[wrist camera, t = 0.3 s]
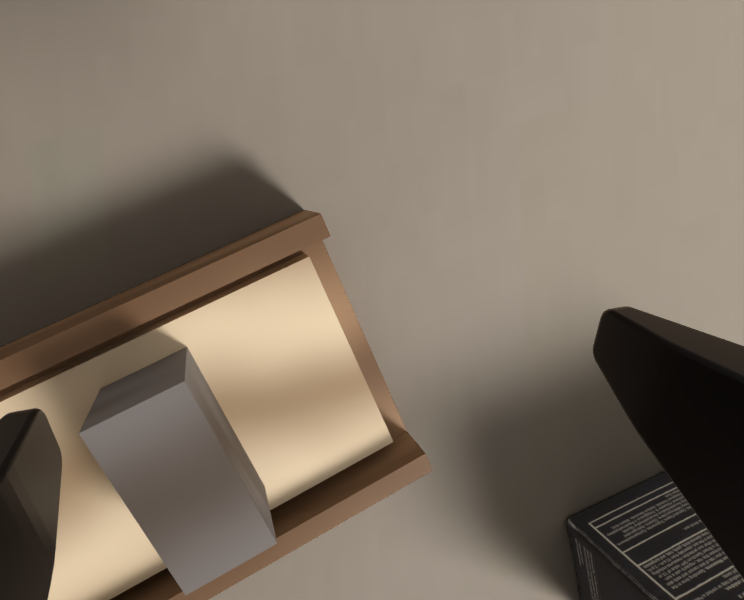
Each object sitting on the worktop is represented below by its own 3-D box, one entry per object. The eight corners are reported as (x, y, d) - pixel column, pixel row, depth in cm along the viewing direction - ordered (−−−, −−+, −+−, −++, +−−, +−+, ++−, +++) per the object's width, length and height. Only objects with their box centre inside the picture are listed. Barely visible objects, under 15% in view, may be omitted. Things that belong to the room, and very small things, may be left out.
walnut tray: (405, 437, 24) (432, 470, 21) (54, 632, 21) (32, 700, 18) (304, 209, 21) (320, 213, 18) (-123, 403, 18) (-183, 443, 15)
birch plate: (385, 431, 23) (428, 487, 18) (71, 603, 20) (38, 713, 16) (304, 253, 20) (331, 271, 16) (-63, 425, 18) (-143, 499, 14)
